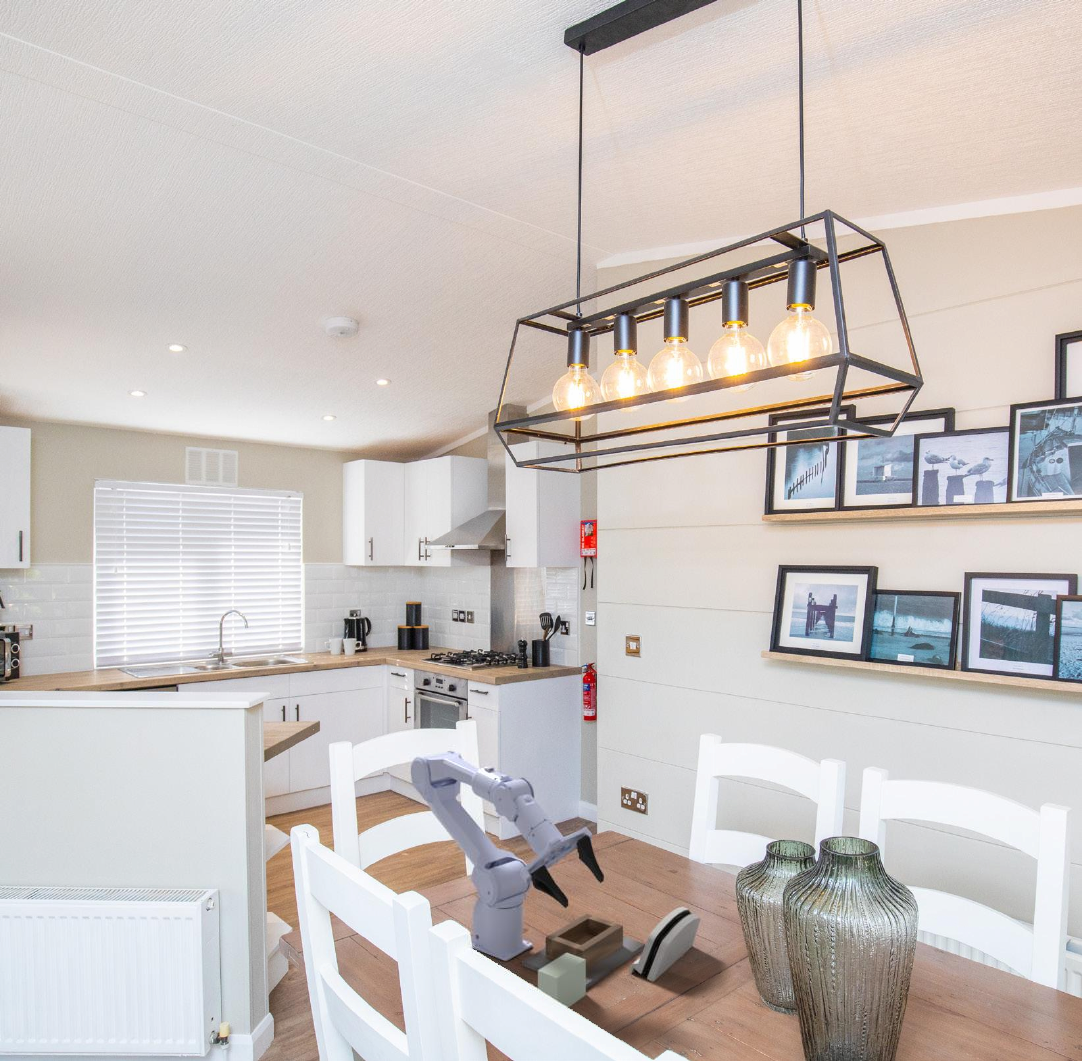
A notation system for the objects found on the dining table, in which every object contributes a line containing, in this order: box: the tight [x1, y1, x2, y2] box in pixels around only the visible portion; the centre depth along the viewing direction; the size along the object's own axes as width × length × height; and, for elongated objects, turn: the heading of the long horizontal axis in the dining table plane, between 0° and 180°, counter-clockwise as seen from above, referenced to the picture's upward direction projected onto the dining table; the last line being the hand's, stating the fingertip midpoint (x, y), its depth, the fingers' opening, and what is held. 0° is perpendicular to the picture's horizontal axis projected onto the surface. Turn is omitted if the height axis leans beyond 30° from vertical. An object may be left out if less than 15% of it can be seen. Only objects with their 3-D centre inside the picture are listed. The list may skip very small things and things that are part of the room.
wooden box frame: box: [521, 913, 646, 990], centre depth 150 cm, size 14×20×5 cm
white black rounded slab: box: [628, 906, 701, 982], centre depth 148 cm, size 17×5×10 cm, turn 145°
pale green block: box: [537, 953, 587, 1008], centre depth 134 cm, size 4×8×6 cm, turn 141°
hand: (584, 891), depth 138 cm, fingers open, 7 cm apart
